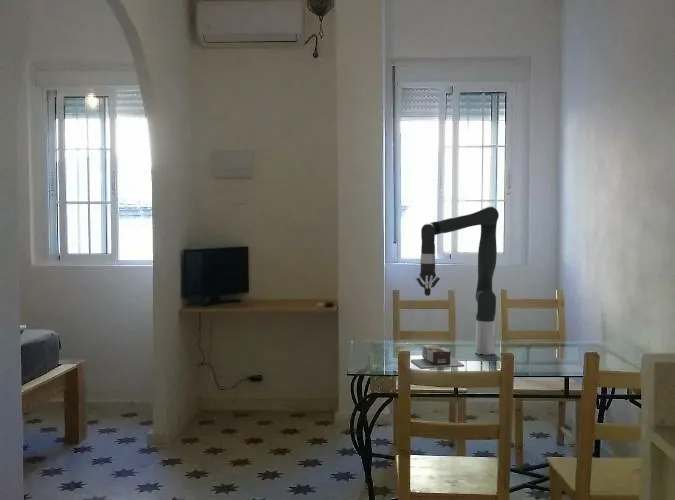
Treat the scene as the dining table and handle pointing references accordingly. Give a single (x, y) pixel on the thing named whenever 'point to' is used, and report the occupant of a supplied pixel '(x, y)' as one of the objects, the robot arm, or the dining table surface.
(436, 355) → the coffee box
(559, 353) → the dining table surface
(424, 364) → the mat
